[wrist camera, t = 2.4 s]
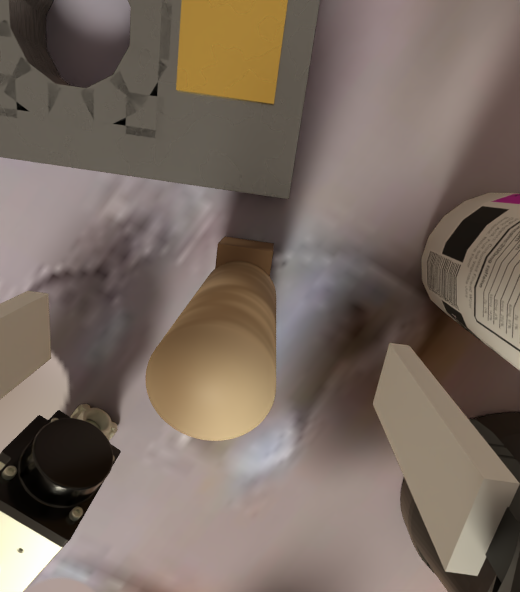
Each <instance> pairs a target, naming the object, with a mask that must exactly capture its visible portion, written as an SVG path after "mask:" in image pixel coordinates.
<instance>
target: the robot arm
mask: <svg viewBox="0 0 520 592" xmlns="http://www.w3.org/2000/svg"><path fill="white" fill-rule="evenodd" d="M49 359H51V344H50V321H49V299H48V294H46V293H39V292H32V291H27V292H25V293H23V294H20V295H18V296H16V297H14V298H12V299H10V300H7V301H5V302H3V303H1V304H0V399H1V398H3V397H4V396H5V395H6V394H7V393H9V392H10V391H11V390H12V389H14V388H15V387H16V386H17V385H19V384H20V383H21V382H22V381H24V380H25V379H26V378H27V377H29V376H30V375H31V374H32V373H33V372H34V371H36V370H37V369H38V368H40V367H41V366H42V365H43V364H45V363H46V362H47V361H48V360H49ZM373 406H374V408H375V410H376V413H377V415H378V417H379V420H380V422H381V424H382V427H383V429H384V431H385V434H386V436H387V438H388V440H389V443H390V445H391V447H392V450H393V452H394V454H395V457H396V459H397V461H398V464H399V466H400V468H401V471H402V473H403V475H404V477H405V479H404V481H403V485H402V490H401V498H400V502H401V511H402V516H403V519H404V522H405V524H406V527H407V529H408V532H409V535H410V537H411V540H412V542H413V545H414V547H415V548H416V550H417V552H418V554H419V556H420V557H421V558H422V560H423V561H424V562H425V564H426V565H427V566H428V567H429V568H430V569H431V570H432V571H433V573H435V574H436V575H437V577H438V578H439V580H440V581H441V582H442V584H443V585H444V587H445V588H446V589H447V591H448V592H520V413H518V412H517V413H500V414H493V415H488V416H483V417H479V418H476V419H468V418H467V417H466V416H465V414H464V413H463V412H462V411H461V409H460V408H459V407H458V406H457V405H456V403H455V402H454V401H453V400H452V398H451V397H450V396H449V395H448V393H447V392H446V391H445V390H444V388H443V387H442V386H441V385H440V383H439V382H438V381H437V380H436V378H435V377H434V376H433V375H432V373H431V372H430V371H429V370H428V368H427V367H426V366H425V365H424V363H423V362H422V361H421V360H420V358H419V357H418V356H417V355H416V353H415V352H414V351H413V350H412V348H411V347H410V346H409V345H402V344H395V343H389V346H388V350H387V354H386V357H385V361H384V365H383V368H382V372H381V376H380V379H379V383H378V386H377V390H376V394H375V397H374V401H373Z"/></svg>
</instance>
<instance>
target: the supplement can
mask: <svg viewBox="0 0 520 592" xmlns="http://www.w3.org/2000/svg"><path fill="white" fill-rule="evenodd" d="M421 264H422V282H423V284H424V286H425V288H426V291H427V293H428V295H429V297H430V300H431V301H433V302H434V303H435V304H436V305H437V306H438V307H439V308H440V309H441V310H442V311H443V312H444V313H446V314H447V315H448V316H449V317H451V318H452V319H453V320H455V321H456V322H457V323H458V324H460V325H461V326H462V327H464V328H465V329H466V330H468V331H469V332H470V333H471V334H473V335H474V336H475V337H477V338H478V339H479V340H481V341H482V342H483V343H484V344H486V345H487V346H488V347H490V348H491V349H492V350H493V351H495V352H496V353H497V354H499V355H500V356H501V357H503V358H504V359H505V360H506V361H508V362H509V363H510V364H512V365H513V366H514V367H515V368H517V369H518V370H519V371H520V193H487V194H484V195H481V196H478V197H475V198H472V199H469V200H466V201H464V202H463V203H461V204H460V205H459V206H457V207H456V208H454V209H453V210H452V211H450V212H449V213H448V214H446V215H445V216H444V217H443V218H442V219H441V221H440V222H439V223H438V225H437V226H436V227H435V229H434V230H433V231H432V233H431V234H430V235H429V237H428V240H427V243H426V246H425V249H424V252H423V255H422V258H421Z"/></svg>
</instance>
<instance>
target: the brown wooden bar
mask: <svg viewBox="0 0 520 592" xmlns="http://www.w3.org/2000/svg"><path fill="white" fill-rule="evenodd" d="M273 247H274V243H267V242H260V241H254V240H247V239H240V238H233V237H226V236H225V237H224V238H223V239H222V240H221V241H220V242H219V243H218V248H217V258H216V267H215V269H216V268H217V267H219V266H220V265H222V264H224V263H228V262H232V261H245V262H249V263H252V264H255V265H257V266H258V267H260V268H261V269H263V270H264V271H265V272H266V273H267V274H268V275H269V277H270V270H271V263H272V257H273Z"/></svg>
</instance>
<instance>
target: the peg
mask: <svg viewBox="0 0 520 592" xmlns="http://www.w3.org/2000/svg"><path fill="white" fill-rule="evenodd" d="M146 388H147V393H148V396H149V399H150V401H151V403H152V405H153V407H154V408H155V410H156V411H157V413H158V414H159V415H160V416H161V418H162V419H163V420H164V421H165V422H167V423H168V424H169V425H170V426H172V427H173V428H174V429H176V430H178V431H179V432H181V433H183V434H186V435H188V436H191V437H194V438H197V439H202V440H211V441H219V440H228V439H232V438H236V437H239V436H241V435H244V434H246V433H248V432H249V431H251V430H252V429H254V428H255V427H257V426H258V425H259V424H260V423H261V422H262V421H263V420H264V418H265V417H266V416H267V414H268V413H269V411H270V409H271V407H272V405H273V402H274V398H275V392H276V291H275V287H274V284H273V282H272V280H271V278H270V277H269V275H268V274H267V273H266V272H265V271H264V270H263V269H261V268H260V267H258V266H257V265H255V264H252V263H249V262H245V261H232V262H228V263H224V264H222V265H220V266H219V267H217V268H216V269H215V270H213V271H212V272H211V274H210V275H209V276H208V278H207V279H206V280H205V282H204V283H203V284H202V286H201V287H200V288H199V290H198V291H197V293H196V294H195V295H194V297H193V298H192V299H191V301H190V302H189V304H188V305H187V306H186V308H185V309H184V310H183V312H182V313H181V315H180V316H179V317H178V319H177V320H176V321H175V323H174V324H173V326H172V327H171V328H170V330H169V331H168V332H167V334H166V335H165V337H164V338H163V339H162V341H161V342H160V343H159V345H158V346H157V347H156V349H155V350H154V352H153V354H152V355H151V358H150V360H149V362H148V366H147V370H146Z"/></svg>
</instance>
